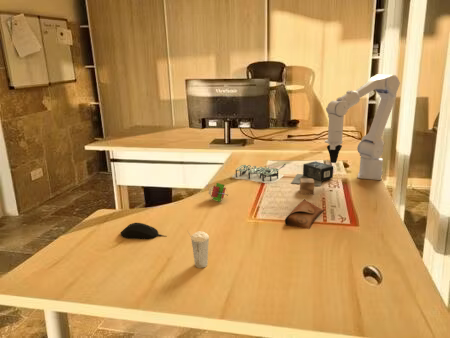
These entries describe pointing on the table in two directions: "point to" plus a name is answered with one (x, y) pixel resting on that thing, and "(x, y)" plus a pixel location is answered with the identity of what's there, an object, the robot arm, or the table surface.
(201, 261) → the milkshake
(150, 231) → the gaming mouse
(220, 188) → the geometric puzzle
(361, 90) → the robot arm
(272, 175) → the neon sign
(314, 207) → the sunglasses case
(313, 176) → the box
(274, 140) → the table surface
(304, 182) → the walnut block
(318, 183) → the mat
